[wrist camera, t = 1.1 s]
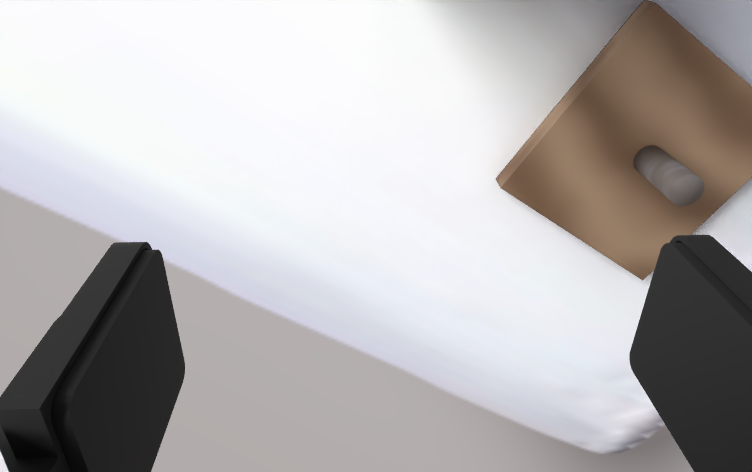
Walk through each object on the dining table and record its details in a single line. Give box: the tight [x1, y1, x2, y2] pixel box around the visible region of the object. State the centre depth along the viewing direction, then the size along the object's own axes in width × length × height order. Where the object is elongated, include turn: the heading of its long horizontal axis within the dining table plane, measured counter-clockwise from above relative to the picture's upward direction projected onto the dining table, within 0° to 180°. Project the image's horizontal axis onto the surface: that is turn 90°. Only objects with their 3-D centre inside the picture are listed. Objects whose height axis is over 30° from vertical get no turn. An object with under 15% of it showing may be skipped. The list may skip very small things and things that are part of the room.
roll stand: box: [496, 0, 752, 280], centre depth 36 cm, size 14×14×6 cm
